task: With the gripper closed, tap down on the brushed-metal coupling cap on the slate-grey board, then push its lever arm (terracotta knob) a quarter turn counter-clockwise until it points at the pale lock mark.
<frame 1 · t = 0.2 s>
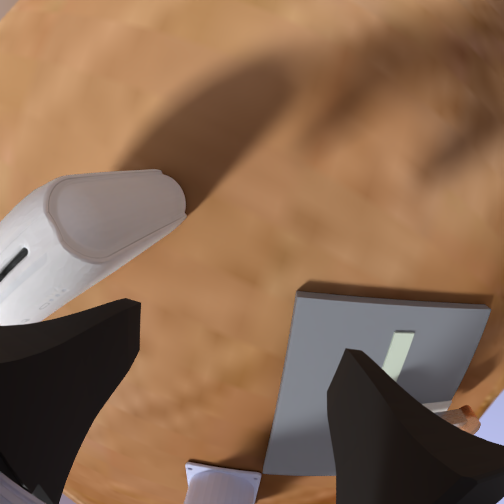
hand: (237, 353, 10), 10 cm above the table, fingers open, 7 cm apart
photo printer: (125, 227, 20), on the table
lock plate: (369, 405, 22), on the table
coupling: (419, 430, 18), point 4 cm above the table, hinge at 0.0°
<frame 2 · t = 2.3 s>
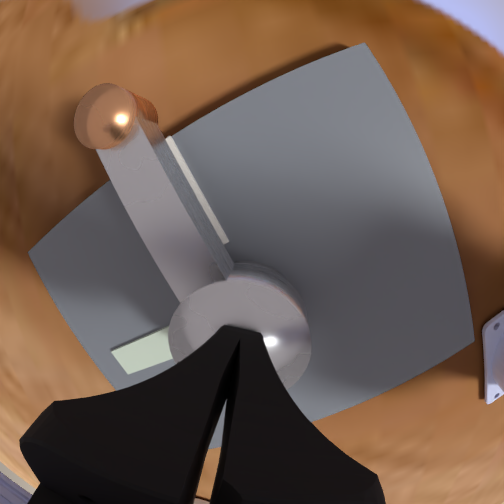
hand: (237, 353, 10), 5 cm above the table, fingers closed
lock plate: (249, 299, 14), on the table
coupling: (185, 247, 10), point 4 cm above the table, hinge at 0.0°
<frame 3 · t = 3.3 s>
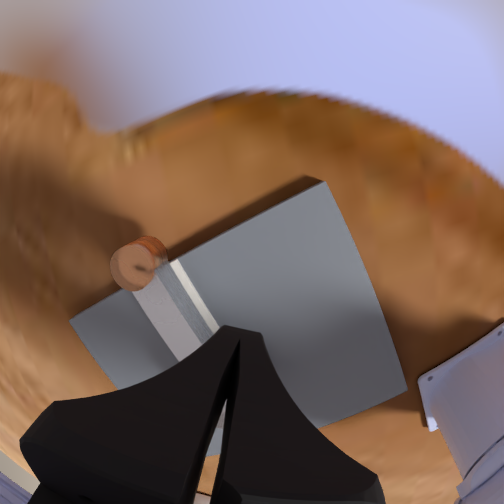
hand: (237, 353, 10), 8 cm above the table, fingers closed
lock plate: (236, 360, 20), on the table
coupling: (192, 345, 15), point 4 cm above the table, hinge at 0.0°
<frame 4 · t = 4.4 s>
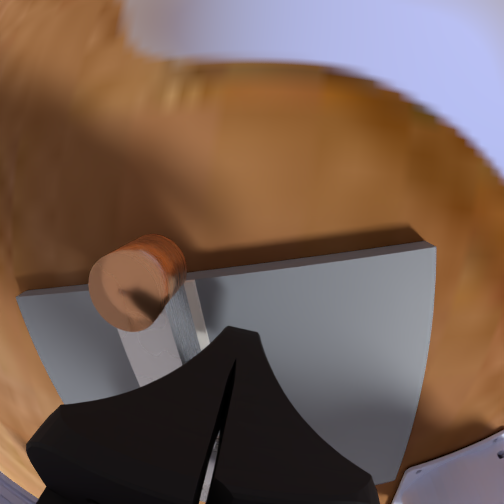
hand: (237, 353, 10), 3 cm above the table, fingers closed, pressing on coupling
lock plate: (222, 416, 14), on the table
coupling: (184, 411, 10), point 3 cm above the table, hinge at 0.0°, touching gripper
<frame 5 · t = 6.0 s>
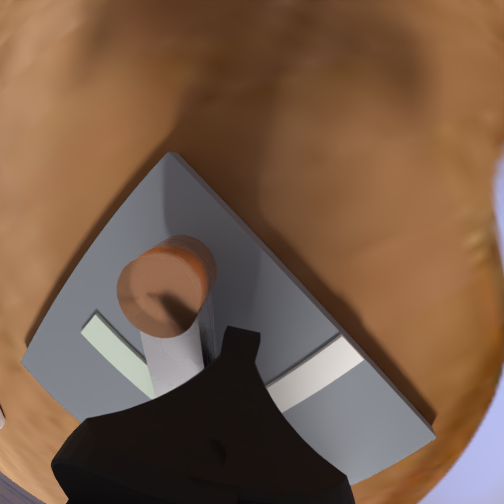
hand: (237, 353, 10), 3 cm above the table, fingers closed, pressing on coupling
lock plate: (218, 417, 14), on the table
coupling: (192, 414, 10), point 4 cm above the table, hinge at 48.2°, touching gripper
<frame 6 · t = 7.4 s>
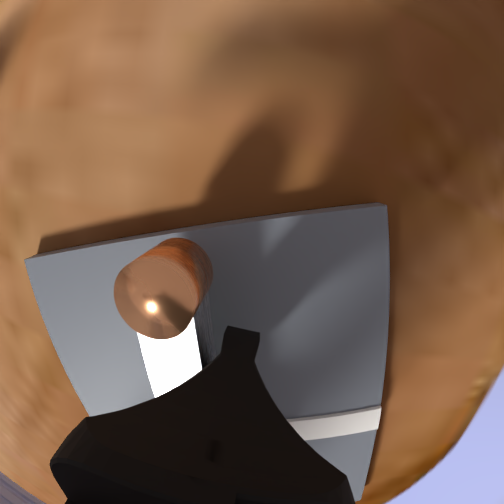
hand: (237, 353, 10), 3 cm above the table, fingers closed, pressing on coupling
lock plate: (220, 418, 14), on the table
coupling: (193, 415, 10), point 4 cm above the table, hinge at 84.3°, touching gripper
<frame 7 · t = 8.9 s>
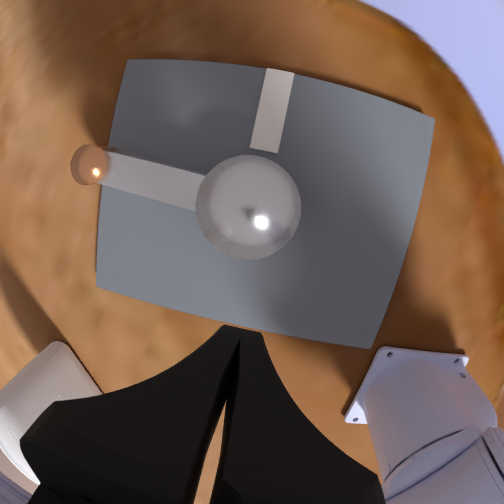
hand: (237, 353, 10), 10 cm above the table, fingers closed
photo printer: (84, 382, 24), on the table
lock plate: (254, 199, 18), on the table
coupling: (178, 185, 15), point 4 cm above the table, hinge at 84.8°
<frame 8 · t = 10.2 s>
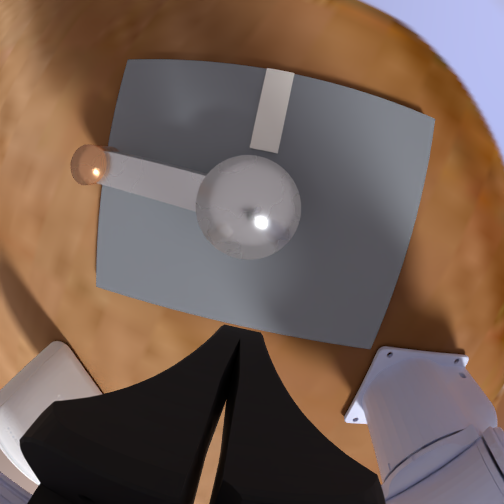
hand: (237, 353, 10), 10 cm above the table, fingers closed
photo printer: (84, 382, 24), on the table
lock plate: (254, 199, 18), on the table
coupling: (178, 185, 15), point 4 cm above the table, hinge at 84.8°
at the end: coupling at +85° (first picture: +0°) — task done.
